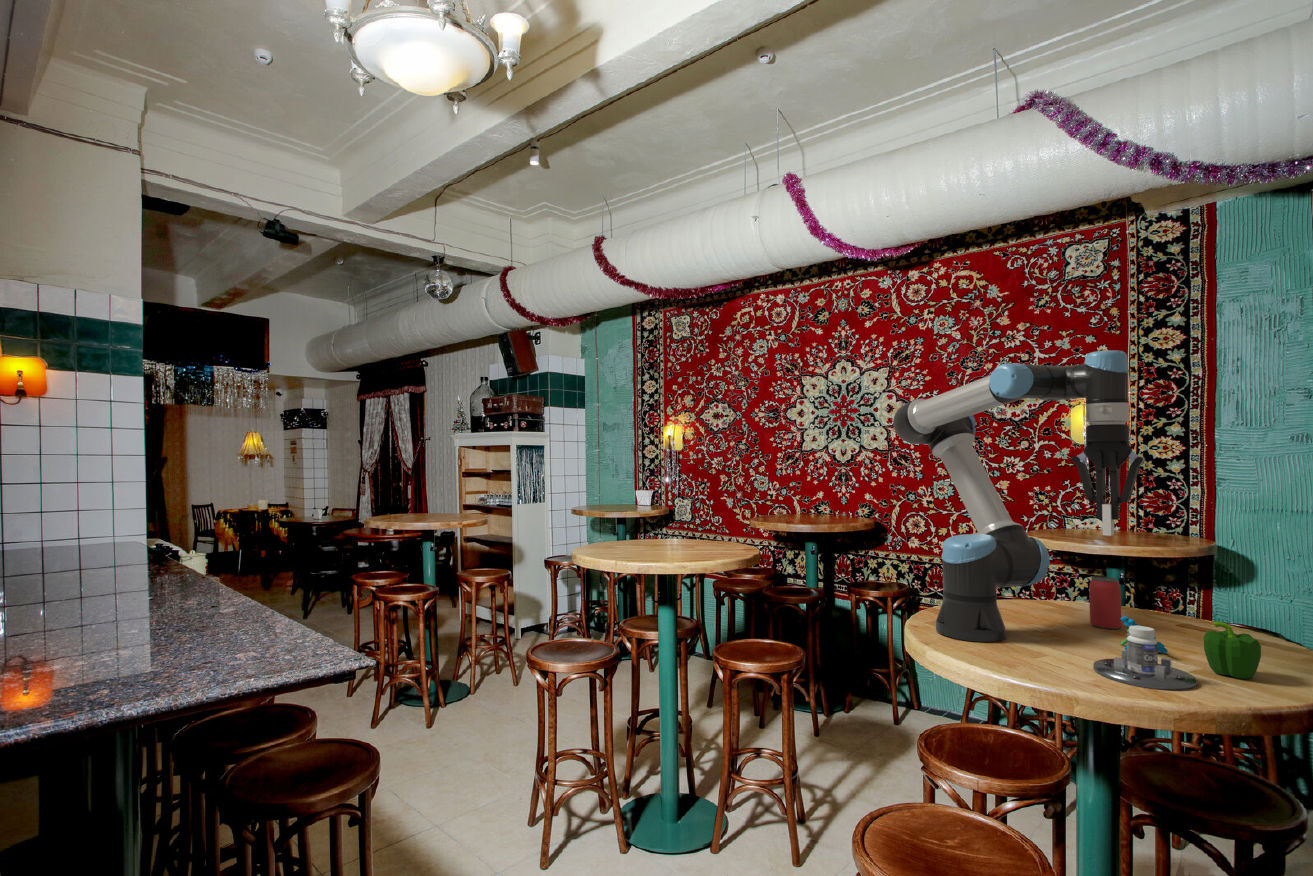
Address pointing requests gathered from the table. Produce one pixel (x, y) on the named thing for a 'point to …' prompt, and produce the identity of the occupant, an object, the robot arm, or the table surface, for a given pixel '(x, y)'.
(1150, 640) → the pill bottle
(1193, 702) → the table surface
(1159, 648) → the gear
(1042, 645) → the table surface
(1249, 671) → the bell pepper
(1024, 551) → the robot arm
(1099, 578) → the beer can
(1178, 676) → the hub
